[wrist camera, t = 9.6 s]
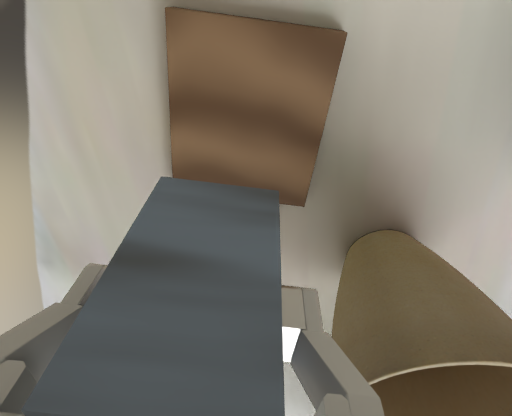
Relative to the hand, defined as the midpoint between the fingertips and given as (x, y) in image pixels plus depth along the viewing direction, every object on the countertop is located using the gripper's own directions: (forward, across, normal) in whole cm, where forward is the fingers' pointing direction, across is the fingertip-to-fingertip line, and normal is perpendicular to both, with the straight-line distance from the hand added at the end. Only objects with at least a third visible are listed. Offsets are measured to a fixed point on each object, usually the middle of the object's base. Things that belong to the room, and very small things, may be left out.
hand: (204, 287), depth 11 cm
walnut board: (+18, 0, 0) cm, 18 cm away
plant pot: (+18, -16, +13) cm, 27 cm away
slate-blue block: (+3, 0, 0) cm, 3 cm away
